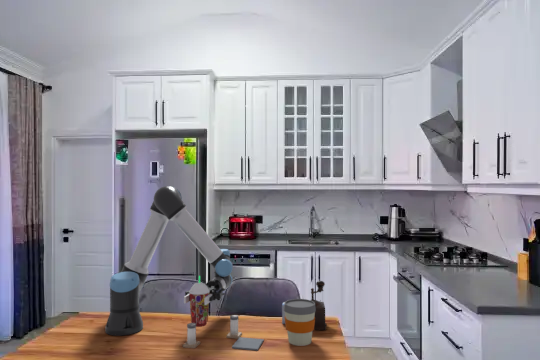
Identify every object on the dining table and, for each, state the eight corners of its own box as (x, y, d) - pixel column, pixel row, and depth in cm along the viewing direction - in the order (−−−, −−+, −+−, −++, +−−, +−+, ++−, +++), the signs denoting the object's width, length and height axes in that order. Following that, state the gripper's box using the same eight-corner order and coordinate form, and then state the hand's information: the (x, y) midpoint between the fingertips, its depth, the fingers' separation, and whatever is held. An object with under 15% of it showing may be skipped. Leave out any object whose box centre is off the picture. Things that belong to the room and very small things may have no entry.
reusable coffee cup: (289, 349, 152) (289, 308, 152) (279, 337, 164) (279, 299, 165) (320, 345, 156) (320, 306, 156) (309, 334, 168) (308, 297, 168)
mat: (231, 348, 153) (231, 346, 153) (239, 338, 163) (239, 337, 163) (257, 350, 151) (257, 348, 151) (263, 340, 161) (263, 339, 161)
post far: (226, 337, 164) (226, 317, 164) (230, 333, 169) (230, 313, 169) (238, 338, 163) (238, 318, 163) (241, 334, 168) (241, 314, 168)
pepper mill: (327, 330, 172) (327, 288, 172) (301, 330, 172) (301, 287, 173) (324, 319, 187) (324, 279, 188) (300, 318, 188) (300, 279, 188)
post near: (182, 347, 154) (182, 325, 154) (188, 342, 159) (188, 321, 159) (195, 348, 153) (195, 326, 153) (200, 343, 158) (200, 322, 158)
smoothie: (207, 328, 163) (207, 278, 163) (187, 328, 163) (187, 278, 163) (211, 321, 171) (211, 273, 171) (191, 321, 171) (191, 273, 172)
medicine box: (300, 321, 184) (300, 302, 184) (299, 324, 179) (299, 305, 179) (282, 320, 185) (282, 301, 185) (282, 324, 180) (282, 304, 180)
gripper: (237, 296, 182) (219, 312, 160) (193, 294, 187) (170, 308, 165) (236, 280, 182) (219, 292, 160) (193, 277, 187) (170, 290, 165)
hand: (194, 300), depth 162 cm, fingers closed on smoothie, 8 cm apart
